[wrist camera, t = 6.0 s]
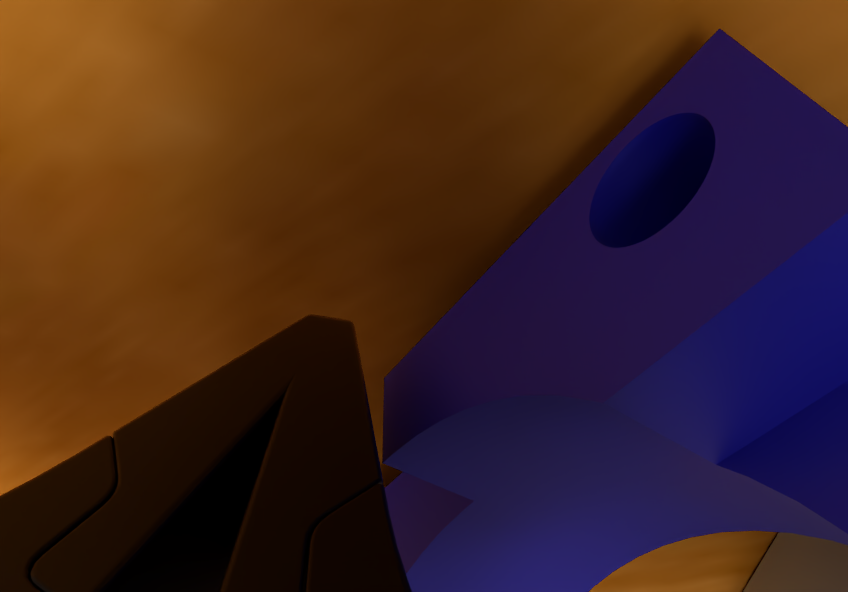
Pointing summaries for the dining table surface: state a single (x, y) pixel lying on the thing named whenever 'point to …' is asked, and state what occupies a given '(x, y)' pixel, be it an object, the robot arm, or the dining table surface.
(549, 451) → the blue half clamp bracket
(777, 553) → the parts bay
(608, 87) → the dining table surface
